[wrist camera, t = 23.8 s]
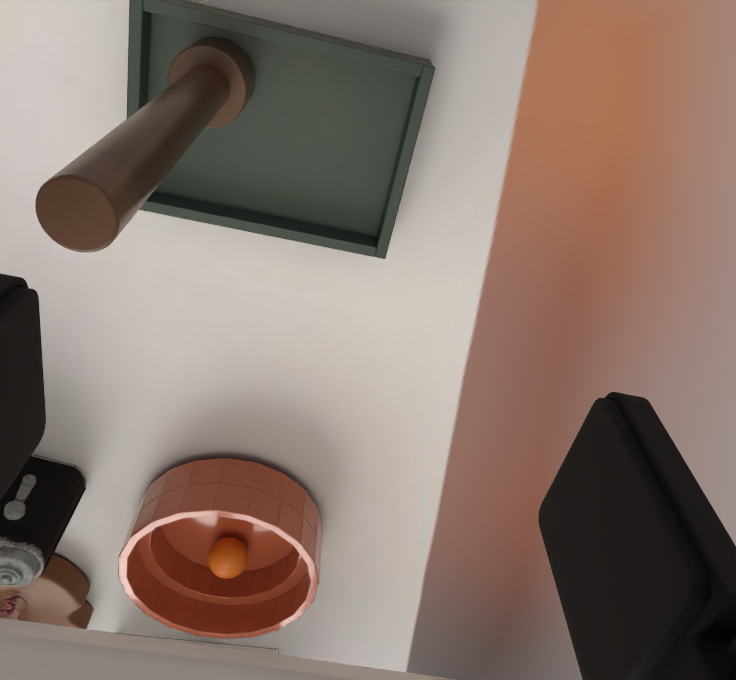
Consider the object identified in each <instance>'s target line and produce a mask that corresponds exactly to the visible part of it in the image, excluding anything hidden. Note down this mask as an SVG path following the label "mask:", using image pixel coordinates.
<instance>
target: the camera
mask: <svg viewBox="0 0 736 680" xmlns="http://www.w3.org/2000/svg"><path fill="white" fill-rule="evenodd" d="M85 489H86V488H85V477H84V475H83V473H82V471H81V470H80V469H79V468H78V467H77V466H74V465H70V464H66V463H62V462H58V461H54V460H50V459H46V458H42V457H39V456H35V455H31V456H30V458H29V459H28V460H27V462H26V463H25V465H24V466H23V468H22V469H21V471H20V472H19V474H18V475H17V477H16V478H15V480H14V481H13V483H12V484H11V486H10V487H9V489H8V490H7V492H6V493H5V495H4V496H3V498H2V499H1V501H0V584H1V585H5V586H9V587H22V586H25V585H28V584H30V583H31V582H32V581H33V580H34V579H35V578H37V577H38V576H40V574H42V573H43V572H44V571H45V569H46V567H47V565H48V563H49V561H50V559H51V557H52V555H53V553H54V551H55V549H56V547H57V545H58V543H59V541H60V539H61V537H62V535H63V533H64V531H65V529H66V527H67V525H68V523H69V521H70V519H71V517H72V515H73V513H74V511H75V509H76V507H77V505H78V503H79V501H80V499H81V497H82V495H83V493H84V491H85Z"/></svg>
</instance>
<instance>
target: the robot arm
mask: <svg viewBox="0 0 736 680" xmlns="http://www.w3.org/2000/svg"><path fill="white" fill-rule="evenodd" d="M45 425H46V413H45V397H44V380H43V364H42V347H41V330H40V314H39V299H38V294H37V292H36V291H35V290H34V289H29V288H28V285H27V283H26V281H25V280H24V279H23V278H20V277H15V276H10V275H5V274H0V501H1V499H2V498H3V496H4V495H5V493H6V492H7V490H8V489H9V487H10V486H11V484H12V483H13V481H14V480H15V478H16V477H17V475H18V474H19V472H20V471H21V469H22V468H23V466H24V465H25V463H26V462H27V460H28V459H29V458H30V456H31V455H32V453H33V452H34V450H35V449H36V447H37V446H38V444H39V442H40V441H41V439H42V436H43V434H44V430H45ZM539 526H540V530H541V534H542V537H543V541H544V544H545V548H546V551H547V555H548V558H549V562H550V565H551V569H552V573H553V576H554V579H555V583H556V586H557V590H558V594H559V597H560V601H561V604H562V608H563V611H564V615H565V619H566V622H567V626H568V629H569V633H570V636H571V640H572V643H573V647H574V650H575V654H576V658H577V661H578V665H579V668H580V672H581V675H582V679H583V680H736V546H735V544H734V543H733V541H732V539H731V538H730V536H729V534H728V533H727V531H726V529H725V528H724V526H723V524H722V523H721V521H720V519H719V518H718V516H717V514H716V513H715V511H714V509H713V508H712V506H711V504H710V503H709V501H708V499H707V498H706V496H705V494H704V493H703V491H702V489H701V488H700V486H699V484H698V483H697V481H696V479H695V478H694V476H693V474H692V473H691V471H690V469H689V468H688V466H687V464H686V463H685V461H684V459H683V458H682V456H681V454H680V452H679V451H678V449H677V448H676V446H675V444H674V442H673V441H672V439H671V438H670V436H669V434H668V432H667V431H666V429H665V428H664V426H663V424H662V423H661V421H660V419H659V418H658V416H657V414H656V412H655V411H654V409H653V408H652V406H651V404H650V403H649V401H648V400H647V399H645V398H642V397H637V396H632V395H627V394H622V393H617V392H612V393H609V394H608V395H607V396H606V397H605V398H599V399H597V400H596V401H595V402H594V404H593V406H592V407H591V409H590V411H589V413H588V415H587V417H586V419H585V421H584V423H583V425H582V427H581V429H580V431H579V432H578V434H577V436H576V438H575V440H574V442H573V444H572V446H571V448H570V450H569V452H568V454H567V456H566V458H565V460H564V462H563V464H562V465H561V467H560V469H559V471H558V473H557V475H556V477H555V479H554V481H553V483H552V485H551V487H550V489H549V491H548V493H547V495H546V496H545V498H544V500H543V502H542V504H541V507H540V511H539ZM0 680H456V679H449V678H442V677H435V676H427V675H420V674H413V673H406V672H399V671H392V670H385V669H377V668H370V667H363V666H356V665H348V664H341V663H334V662H327V661H319V660H312V659H305V658H298V657H290V656H283V655H276V654H268V653H261V652H254V651H246V650H239V649H232V648H224V647H217V646H210V645H202V644H195V643H187V642H180V641H172V640H164V639H157V638H149V637H142V636H134V635H126V634H119V633H111V632H104V631H96V630H89V629H81V628H73V627H66V626H58V625H51V624H43V623H35V622H28V621H20V620H13V619H5V618H0Z"/></svg>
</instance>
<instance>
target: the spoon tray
mask: <svg viewBox="0 0 736 680" xmlns="http://www.w3.org/2000/svg"><path fill="white" fill-rule="evenodd" d="M208 37H220V38H225V39H228V40H230V41H232V42H234V43H235V44H237V45H238V46H239V47H240V48H241V49H242V50H243V51H244V52H245V53H246V55H247V56H248V57H249V59H250V61H251V63H252V66H253V69H254V74H255V87H254V91H253V94H252V96H251V98H250V100H249V101H248V103H247V104H246V106H245V107H244V109H243V110H242V112H241V113H240V115H239V116H238V117H237V118H236V119H235V120H234V121H233V122H231V123H230V124H228V125H225V126H223V127H219V128H206V127H205V129H204V130H203V131H202V132H201V134H200V135H199V136H198V137H197V139H196V140H195V141H194V142H193V143H192V145H191V146H190V147H189V148H188V150H187V151H186V152H185V153H184V155H183V156H182V157H181V158H180V159H179V161H178V162H177V163H176V164H175V166H174V167H173V168H172V169H171V171H170V172H169V173H168V174H167V176H166V177H165V178H164V179H163V180H162V182H161V183H160V184H159V185H158V187H157V188H156V189H155V190H154V192H153V193H152V194H151V195H150V196H149V198H148V199H147V200H146V201H145V203H144V204H143V205H142V206H141V208H140V209H139V210H144V211H149V212H154V213H159V214H164V215H169V216H174V217H179V218H184V219H189V220H194V221H199V222H204V223H209V224H214V225H219V226H224V227H229V228H233V229H238V230H243V231H248V232H253V233H258V234H263V235H268V236H273V237H278V238H283V239H288V240H293V241H298V242H303V243H308V244H313V245H318V246H323V247H328V248H333V249H338V250H343V251H348V252H353V253H358V254H363V255H368V256H373V257H374V256H375V257H378V258H383V259H385V258H386V254H387V250H388V246H389V242H390V239H391V235H392V231H393V227H394V223H395V219H396V216H397V212H398V208H399V204H400V200H401V197H402V193H403V189H404V185H405V181H406V178H407V174H408V170H409V166H410V162H411V159H412V155H413V151H414V147H415V143H416V139H417V136H418V132H419V128H420V124H421V120H422V117H423V113H424V109H425V105H426V101H427V98H428V94H429V90H430V86H431V82H432V78H433V75H434V71H435V67H434V65H433V64H432V62H431V61H430V60H426V59H422V58H418V57H414V56H410V55H406V54H402V53H398V52H394V51H390V50H386V49H382V48H377V47H373V46H369V45H365V44H361V43H357V42H353V41H349V40H345V39H341V38H337V37H333V36H329V35H324V34H320V33H316V32H312V31H308V30H304V29H300V28H296V27H292V26H288V25H284V24H280V23H276V22H271V21H267V20H263V19H259V18H255V17H251V16H247V15H243V14H239V13H235V12H231V11H227V10H223V9H218V8H214V7H210V6H206V5H202V4H198V3H194V2H190V1H186V0H130V5H129V46H128V87H127V119H128V118H129V117H130V116H132V115H133V114H134V113H136V112H137V111H138V110H139V109H141V108H142V107H143V106H145V105H146V104H147V103H149V102H150V101H151V100H152V99H154V98H155V97H156V96H158V95H159V94H160V93H161V92H163V91H164V90H165V89H167V88H168V85H167V77H168V71H169V68H170V66H171V63H172V62H173V60H174V58H175V57H176V56H177V55H178V54H179V53H180V52H182V51H183V50H185V49H186V48H188V47H189V46H191V45H193V44H194V43H196V42H197V41H199V40H201V39H204V38H208Z"/></svg>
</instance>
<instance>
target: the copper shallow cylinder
mask: <svg viewBox="0 0 736 680" xmlns="http://www.w3.org/2000/svg"><path fill="white" fill-rule="evenodd" d="M226 537H233V538H237V539H239V540H240V541H242V542H243V543H244V545H245V546H246V548H247V551H248V562H247V565H246V567H245V569H244V570H243V571H242V572H241V573H240V574H239V575H237V576H236V577H233V578H229V579H225V578H220V577H218V576H216V575H215V574H214V573H213V572H212V571H211V569H210V567H209V564H208V555H209V551H210V549H211V547H212V546H213V545H214V544H215V543H216V542H217V541H218V540H220V539H222V538H226ZM321 539H322V526H321V521H320V515H319V510H318V508H317V507H316V505H315V504H314V502H313V501H312V499H311V498H310V496H309V495H308V493H307V492H306V491H305V489H304V488H302V487H301V486H300V485H298V484H297V483H296V482H295V481H293V480H292V479H291V478H289V477H288V476H287V475H285V474H284V473H281V472H279V471H276V470H274V469H272V468H269V467H267V466H264V465H262V464H259V463H256V462H250V461H244V460H237V459H231V458H219V459H207V460H195V461H192V462H189V463H187V464H184V465H181V466H178V467H175V468H172V469H170V470H169V471H167V472H166V473H165V474H163V475H162V476H161V477H159V478H158V479H157V480H155V481H154V482H153V483H152V484H150V485H149V487H148V489H147V491H146V492H145V494H144V496H143V498H142V499H141V501H140V503H139V506H138V508H137V511H136V514H135V516H134V519H133V521H132V524H131V526H130V529H129V532H128V534H127V537H126V539H125V542H124V545H123V547H122V550H121V552H120V555H119V574H118V576H119V579H120V581H121V583H122V585H123V587H124V589H125V592H126V594H127V596H128V597H129V598H130V599H131V600H132V601H133V602H134V603H135V604H136V605H137V606H138V607H139V608H140V609H141V610H142V611H143V612H144V613H145V614H147V615H148V616H150V617H152V618H154V619H155V620H157V621H159V622H161V623H163V624H164V625H166V626H168V627H170V628H173V629H177V630H180V631H183V632H186V633H189V634H193V635H197V636H205V637H213V638H222V639H230V638H245V637H255V636H258V635H262V634H266V633H269V632H273V631H276V630H279V629H281V628H282V627H284V626H286V625H288V624H289V623H291V622H293V621H294V620H296V619H298V618H299V617H300V616H301V615H302V614H303V613H304V612H305V611H306V609H307V608H308V607H309V606H310V605H311V604H312V602H313V601H314V598H315V594H316V591H317V588H318V584H319V573H320V555H321Z"/></svg>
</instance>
